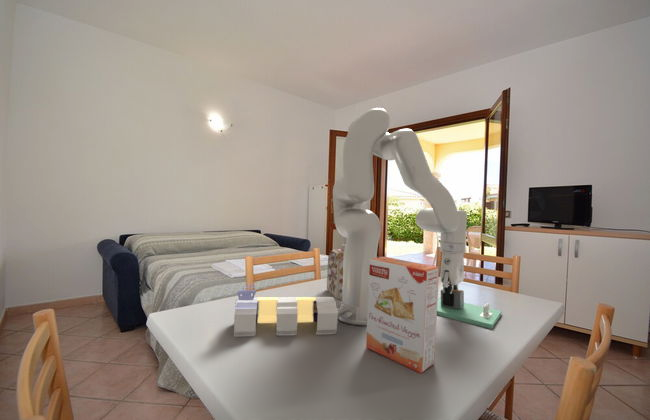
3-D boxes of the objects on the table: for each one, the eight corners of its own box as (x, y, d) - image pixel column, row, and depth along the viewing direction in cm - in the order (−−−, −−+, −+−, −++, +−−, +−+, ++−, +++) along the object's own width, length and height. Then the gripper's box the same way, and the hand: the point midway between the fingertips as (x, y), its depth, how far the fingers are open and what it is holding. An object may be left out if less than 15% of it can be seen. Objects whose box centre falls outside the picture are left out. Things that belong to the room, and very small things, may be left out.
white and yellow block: (233, 339, 72) (235, 284, 72) (239, 322, 82) (240, 274, 82) (336, 337, 76) (338, 285, 75) (329, 320, 86) (331, 275, 85)
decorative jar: (326, 289, 116) (327, 242, 115) (354, 288, 119) (356, 242, 119) (336, 299, 104) (338, 247, 104) (367, 297, 108) (369, 247, 107)
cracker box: (364, 349, 69) (368, 257, 69) (379, 341, 73) (383, 255, 73) (421, 375, 59) (426, 269, 59) (435, 364, 63) (440, 265, 63)
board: (491, 328, 84) (492, 313, 84) (424, 311, 96) (425, 298, 96) (501, 314, 95) (502, 301, 95) (440, 300, 107) (440, 289, 107)
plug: (460, 309, 94) (460, 292, 94) (440, 305, 98) (440, 289, 98) (463, 306, 97) (463, 290, 98) (444, 302, 101) (444, 287, 101)
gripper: (457, 251, 89) (454, 313, 89) (471, 246, 102) (469, 300, 102) (432, 248, 94) (429, 307, 94) (448, 244, 107) (446, 295, 107)
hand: (450, 303), depth 98 cm, fingers closed on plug, 3 cm apart
